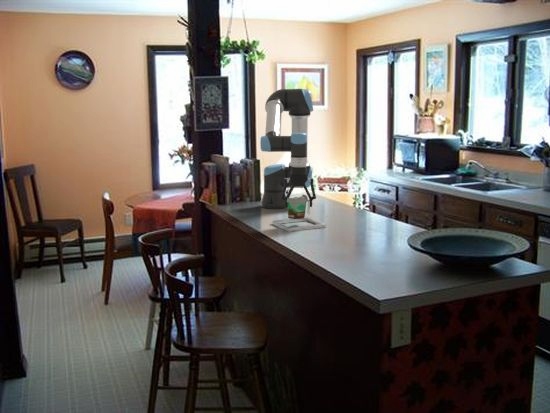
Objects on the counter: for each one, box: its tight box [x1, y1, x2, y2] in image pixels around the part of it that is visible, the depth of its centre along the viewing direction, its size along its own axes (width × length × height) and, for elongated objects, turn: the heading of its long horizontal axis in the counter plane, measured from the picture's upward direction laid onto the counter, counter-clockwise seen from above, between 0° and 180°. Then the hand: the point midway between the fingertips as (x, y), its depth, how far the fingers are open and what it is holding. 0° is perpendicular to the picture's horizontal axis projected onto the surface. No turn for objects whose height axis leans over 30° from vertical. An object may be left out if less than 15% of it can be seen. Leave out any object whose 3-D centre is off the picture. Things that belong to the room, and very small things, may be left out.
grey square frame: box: [271, 216, 327, 232], centre depth 285 cm, size 18×20×2 cm
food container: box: [287, 194, 309, 219], centre depth 283 cm, size 12×6×10 cm, turn 139°
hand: (298, 213), depth 284 cm, fingers closed on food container, 9 cm apart
